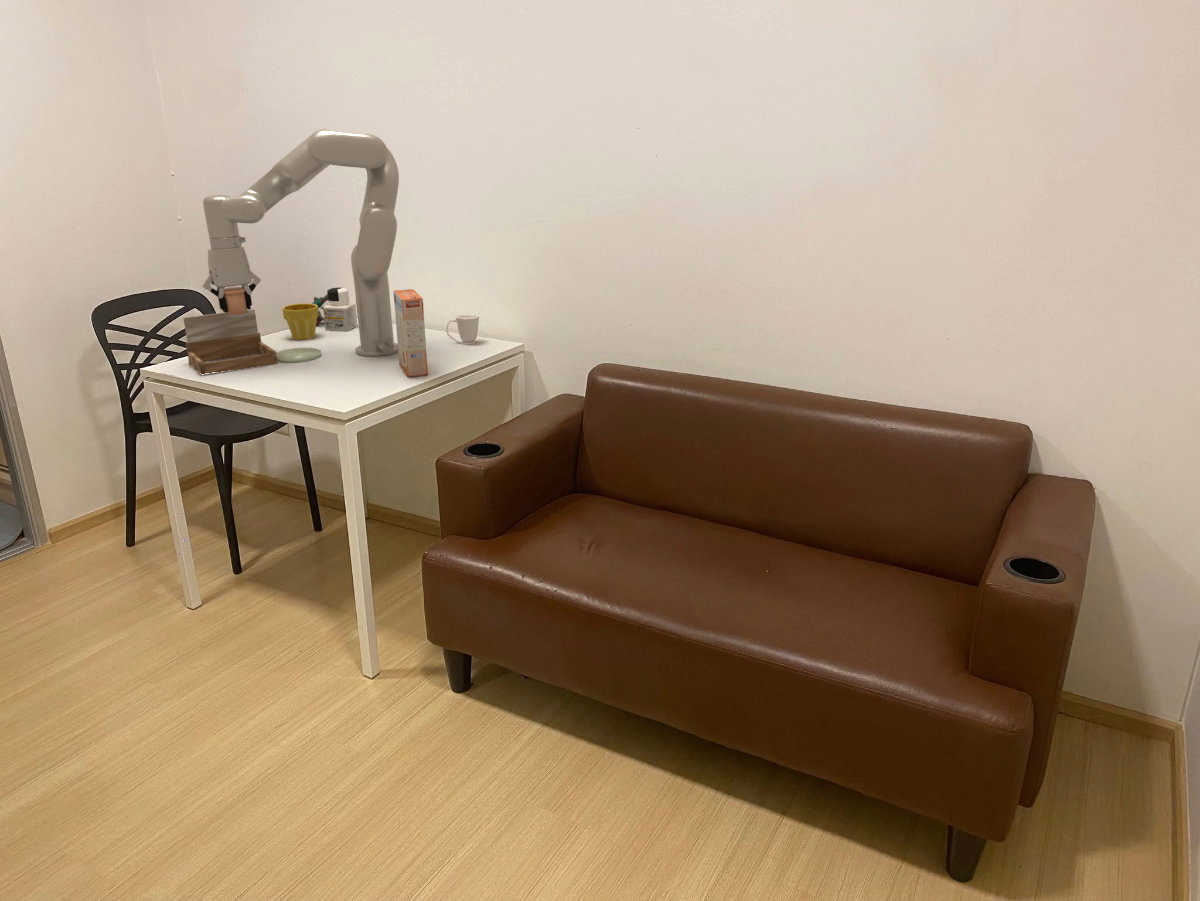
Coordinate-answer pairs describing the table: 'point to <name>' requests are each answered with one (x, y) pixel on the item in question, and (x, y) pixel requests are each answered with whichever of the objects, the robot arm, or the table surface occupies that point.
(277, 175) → the robot arm
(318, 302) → the binoculars
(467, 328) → the cup
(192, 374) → the table surface
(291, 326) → the plant pot
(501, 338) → the table surface
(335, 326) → the container
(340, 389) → the table surface
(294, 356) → the pale green disc
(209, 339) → the wooden drawer
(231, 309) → the clay pot
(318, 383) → the table surface
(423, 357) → the cracker box
